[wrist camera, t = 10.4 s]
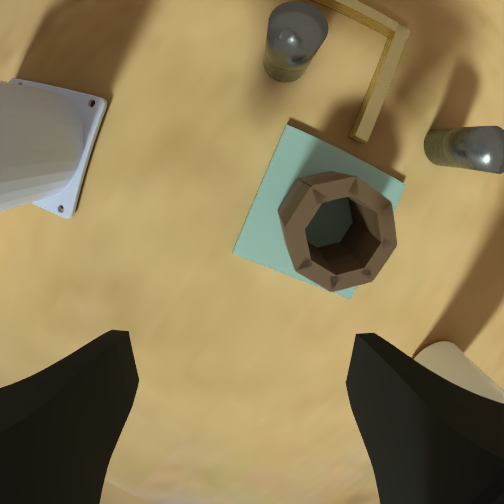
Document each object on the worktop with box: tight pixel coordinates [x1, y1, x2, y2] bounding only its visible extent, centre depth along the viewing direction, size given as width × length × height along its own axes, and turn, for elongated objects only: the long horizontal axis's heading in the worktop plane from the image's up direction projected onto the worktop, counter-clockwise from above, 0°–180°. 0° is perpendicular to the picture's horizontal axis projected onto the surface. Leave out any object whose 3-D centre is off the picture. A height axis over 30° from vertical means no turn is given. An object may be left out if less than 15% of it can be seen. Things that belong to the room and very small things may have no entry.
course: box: [264, 0, 504, 174], centre depth 12 cm, size 14×15×6 cm
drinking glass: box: [414, 341, 504, 403], centre depth 15 cm, size 7×7×15 cm
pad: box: [233, 125, 406, 299], centre depth 18 cm, size 8×8×1 cm
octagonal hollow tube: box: [277, 171, 397, 292], centre depth 16 cm, size 5×5×4 cm
